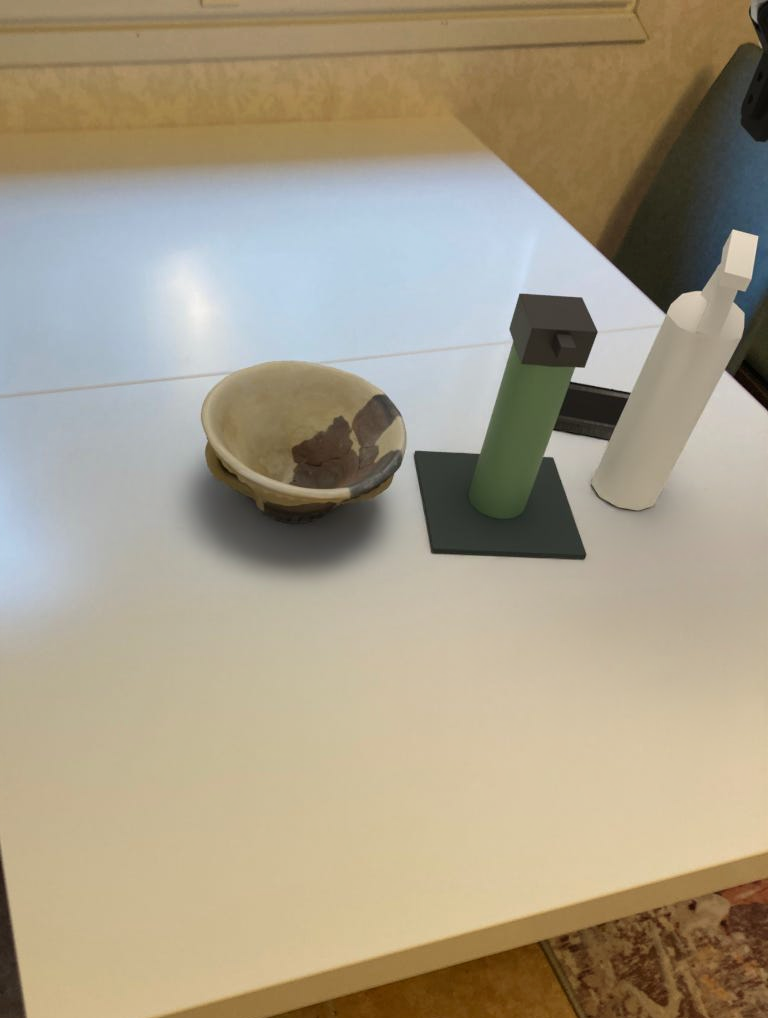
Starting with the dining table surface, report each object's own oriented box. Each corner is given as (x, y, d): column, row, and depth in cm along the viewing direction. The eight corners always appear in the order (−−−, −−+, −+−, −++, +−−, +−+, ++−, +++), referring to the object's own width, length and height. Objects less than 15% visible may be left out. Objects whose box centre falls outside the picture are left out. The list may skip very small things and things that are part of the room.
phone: (533, 374, 101) (672, 399, 100) (530, 383, 102) (668, 408, 101) (531, 415, 96) (678, 442, 95) (528, 425, 97) (674, 451, 95)
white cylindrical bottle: (669, 461, 95) (788, 215, 76) (653, 532, 87) (781, 278, 68) (604, 441, 96) (705, 195, 77) (582, 509, 88) (689, 255, 70)
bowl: (180, 554, 80) (180, 465, 73) (219, 430, 92) (222, 344, 85) (383, 586, 79) (403, 500, 72) (396, 457, 91) (413, 372, 84)
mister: (464, 480, 89) (517, 292, 74) (519, 483, 89) (583, 296, 75) (476, 530, 84) (535, 340, 70) (534, 533, 85) (605, 344, 70)
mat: (551, 461, 93) (553, 457, 92) (584, 559, 84) (587, 554, 83) (413, 455, 92) (414, 450, 91) (432, 553, 83) (433, 548, 82)
